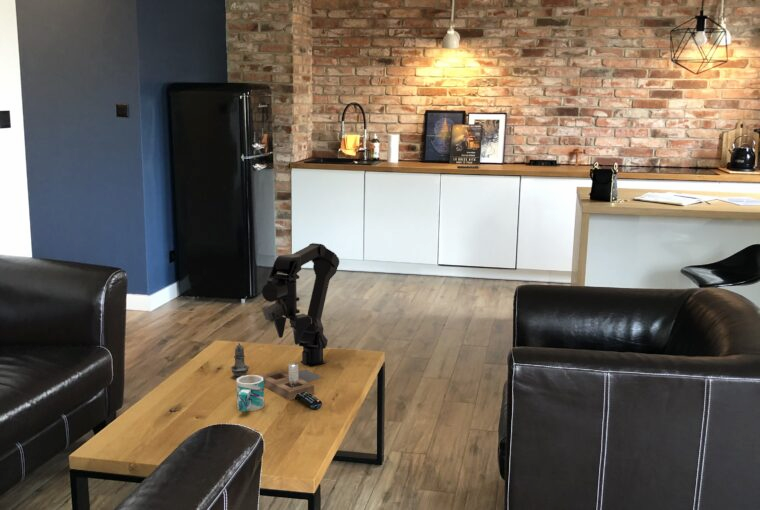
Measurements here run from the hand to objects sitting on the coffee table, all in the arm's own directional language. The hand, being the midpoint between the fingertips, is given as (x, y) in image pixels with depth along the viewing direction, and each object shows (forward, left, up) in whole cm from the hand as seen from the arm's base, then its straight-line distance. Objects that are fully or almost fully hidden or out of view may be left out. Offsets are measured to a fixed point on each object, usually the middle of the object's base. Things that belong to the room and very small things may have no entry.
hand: (288, 340), depth 264 cm
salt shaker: (+13, -9, -13) cm, 20 cm away
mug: (+24, +15, -13) cm, 31 cm away
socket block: (+7, +9, -12) cm, 17 cm away
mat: (-3, +3, -12) cm, 13 cm away
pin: (+7, +13, -12) cm, 19 cm away
